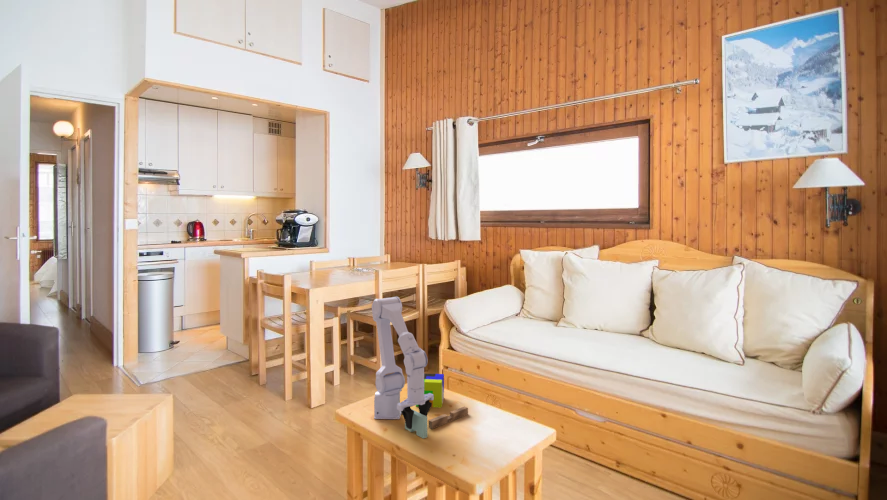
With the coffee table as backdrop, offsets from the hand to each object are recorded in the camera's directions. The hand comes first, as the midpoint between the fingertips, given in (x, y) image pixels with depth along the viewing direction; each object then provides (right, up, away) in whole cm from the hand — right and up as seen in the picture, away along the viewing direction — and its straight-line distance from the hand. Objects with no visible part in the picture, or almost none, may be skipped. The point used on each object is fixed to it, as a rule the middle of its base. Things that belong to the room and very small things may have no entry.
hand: (415, 425), depth 159 cm
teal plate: (0, -3, 0) cm, 3 cm away
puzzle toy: (+4, -1, +27) cm, 27 cm away
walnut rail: (+11, -2, +10) cm, 15 cm away
